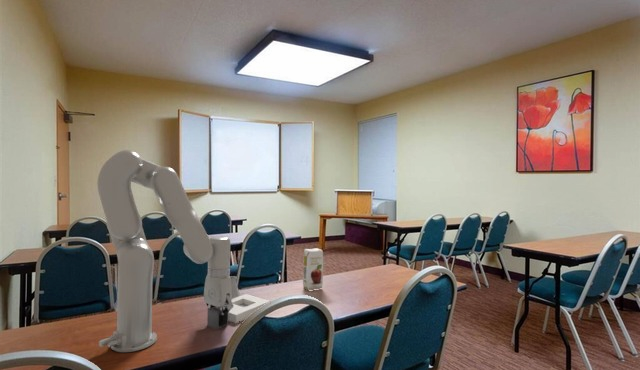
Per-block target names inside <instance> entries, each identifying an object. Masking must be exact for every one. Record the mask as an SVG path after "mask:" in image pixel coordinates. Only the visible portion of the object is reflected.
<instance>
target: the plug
mask: <svg viewBox="0 0 640 370" xmlns="http://www.w3.org/2000/svg"><path fill="white" fill-rule="evenodd" d="M224 309H225V307H223V310H224ZM219 315H221V314H220V308H219V307H216V306H215V307H212V308H209V309H207V322H206V323H207V324H206V326H207V327H208V328H212V329H214V330H219V329H221V328H224V327H226V326H228V325H229V320H228V314H227V324H226V325H223V326H221V327H220V326H219Z"/></svg>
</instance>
